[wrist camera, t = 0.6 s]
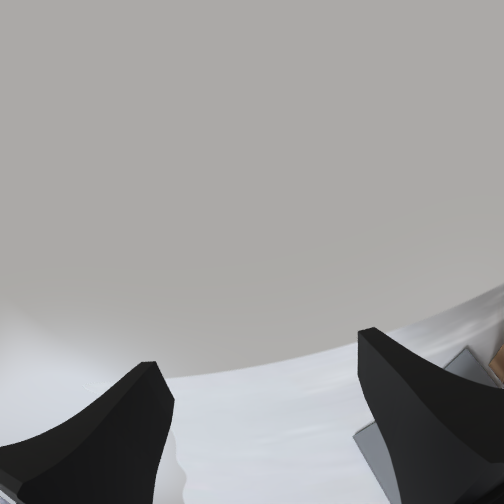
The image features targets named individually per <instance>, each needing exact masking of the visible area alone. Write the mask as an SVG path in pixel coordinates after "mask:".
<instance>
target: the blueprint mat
mask: <svg viewBox="0 0 504 504" xmlns="http://www.w3.org/2000/svg"><path fill="white" fill-rule="evenodd" d="M444 370H446V371H449V372H451V373H453V374H456V375H458V376H461V377H463V378H466V379H468V380H471V381H474V382H477V383H480V384H484V385H487V386H491V387H495V388H498V387H497V385H496V384H495V383H494V381H493V380H492V379H491V378H490V376H489V375H488V374H487V373H486V371H485V370H484V369H483V368H482V366H481V365H480V364H479V363H478V361H477V360H476V359H475V358H474V357H473V356H472V354H471V353H470V352H469V351H468V350H467V348H466V349H465V350H464V351H463V352H462V353H461V354H460V355H459V356H458V357H457V358H456V359H455V360H454V361H453V362H452V363H451V364H449V365H448V366H447V367H446V368H445V369H444ZM352 437H353V438H354V440H355V442H356V444H357V445H358V447H359V449H360V451H361V452H362V454H363V456H364V458H365V459H366V461H367V463H368V465H369V467H370V468H371V470H372V472H373V474H374V475H375V477H376V479H377V481H378V482H379V484H380V486H381V488H382V489H383V491H384V493H385V495H386V496H387V498H388V500H389V502H390V503H391V504H401V498H400V493H399V489H398V485H397V480H396V476H395V472H394V469H393V465H392V461H391V458H390V454H389V452H388V449H387V446H386V444H385V441H384V439H383V437H382V435H381V432H380V430H379V428H378V426H377V423H376V422H375V423H374V424H372V425H370V426H369V427H367V428H366V429H364V430H362V431H361V432H359V433H357V434H356V435H354V436H352Z"/></svg>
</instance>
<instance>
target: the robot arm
mask: <svg viewBox="0 0 504 504" xmlns="http://www.w3.org/2000/svg"><path fill="white" fill-rule="evenodd" d="M358 378H359V381H360V384H361V387H362V391H363V394H364V397H365V399H366V401H367V404H368V406H369V408H370V410H371V413H372V415H373V417H374V419H375V421H376V423H377V426H378V428H379V430H380V432H381V435H382V437H383V439H384V441H385V444H386V446H387V449H388V452H389V454H390V458H391V461H392V465H393V469H394V472H395V476H396V480H397V485H398V489H399V493H400V498H401V504H504V389H499V388H495V387H491V386H487V385H484V384H480V383H477V382H474V381H471V380H468V379H466V378H463V377H461V376H458V375H456V374H453V373H451V372H449V371H446V370H444V369H442V368H440V367H438V366H436V365H434V364H433V363H431V362H429V361H427V360H425V359H423V358H422V357H420V356H418V355H417V354H415V353H413V352H412V351H410V350H408V349H407V348H405V347H404V346H402V345H401V344H399V343H398V342H396V341H395V340H393V339H392V338H390V337H389V336H387V335H386V334H384V333H383V332H381V331H379V330H378V329H377V328H375V327H372V328H369V329H365V330H361V331H358ZM174 401H175V399H174V397H173V395H172V394H171V392H170V390H169V388H168V386H167V384H166V382H165V380H164V378H163V376H162V374H161V372H160V370H159V368H158V366H157V363H156V361H153V362H141V363H140V364H138V365H137V366H136V367H134V368H133V369H132V370H131V371H130V372H128V373H127V374H126V375H125V376H124V377H123V378H121V379H120V380H119V381H118V382H117V383H116V384H114V385H113V386H112V387H111V388H110V389H109V390H107V391H106V392H105V393H104V394H103V395H101V396H100V397H99V398H98V399H96V400H95V401H94V402H93V403H91V404H90V405H89V406H87V407H86V408H85V409H83V410H82V411H81V412H79V413H78V414H76V415H75V416H73V417H72V418H70V419H68V420H67V421H65V422H64V423H62V424H60V425H58V426H56V427H54V428H53V429H50V430H48V431H46V432H44V433H42V434H40V435H38V436H35V437H33V438H30V439H28V440H25V441H21V442H18V443H15V444H11V445H7V446H2V447H0V490H1V491H2V492H4V493H5V494H6V495H7V496H9V497H10V498H11V499H12V500H14V501H15V502H16V504H152V503H153V493H154V487H155V479H156V474H157V470H158V466H159V462H160V459H161V456H162V453H163V449H164V446H165V443H166V439H167V436H168V432H169V429H170V426H171V422H172V416H173V409H174ZM0 504H9V503H8V502H7V501H6V500H5V499H3V498H2V497H1V496H0Z"/></svg>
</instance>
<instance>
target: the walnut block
mask: <svg viewBox="0 0 504 504" xmlns="http://www.w3.org/2000/svg"><path fill="white" fill-rule="evenodd" d="M489 367H490V368H491V369H492V370H493V371H494V373H495V374H496V375H497V376H498V378H499V379H500V380H501V382H502V383H503V384H504V344H503V346H502V347H501V348H500V350H499V351H498V353H497V354H496V355H495V357H494V358H493V360H492V361H491V362H490V364H489Z"/></svg>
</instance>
